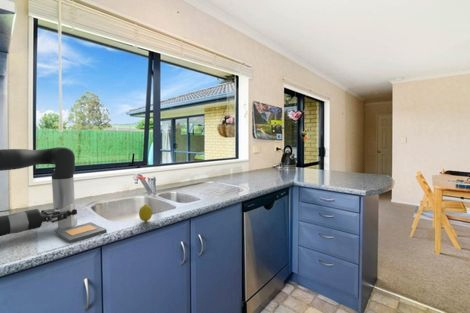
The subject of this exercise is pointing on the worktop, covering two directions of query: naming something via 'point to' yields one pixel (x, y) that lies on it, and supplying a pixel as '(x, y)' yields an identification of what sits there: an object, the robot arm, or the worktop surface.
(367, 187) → the worktop surface
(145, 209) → the lemon
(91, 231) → the mounting plate
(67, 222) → the white wedge bracket
